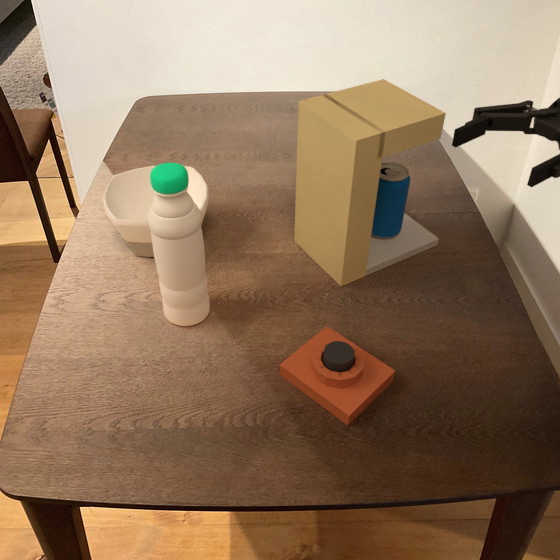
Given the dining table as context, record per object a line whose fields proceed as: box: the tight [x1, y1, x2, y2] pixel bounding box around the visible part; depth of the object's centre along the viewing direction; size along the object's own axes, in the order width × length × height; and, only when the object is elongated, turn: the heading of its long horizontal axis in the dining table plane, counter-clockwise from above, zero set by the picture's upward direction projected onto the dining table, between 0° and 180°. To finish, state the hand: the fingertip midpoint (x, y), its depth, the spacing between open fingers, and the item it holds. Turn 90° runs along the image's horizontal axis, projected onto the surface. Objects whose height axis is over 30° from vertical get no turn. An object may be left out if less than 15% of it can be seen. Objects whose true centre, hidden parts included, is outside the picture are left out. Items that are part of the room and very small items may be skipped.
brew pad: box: [279, 326, 396, 426], centre depth 78 cm, size 12×10×4 cm
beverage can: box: [371, 161, 411, 239], centre depth 98 cm, size 6×6×12 cm
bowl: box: [102, 165, 210, 258], centre depth 100 cm, size 18×18×9 cm
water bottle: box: [148, 162, 211, 327], centre depth 80 cm, size 7×7×25 cm
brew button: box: [323, 341, 354, 372], centre depth 76 cm, size 4×4×2 cm
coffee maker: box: [293, 78, 447, 287], centre depth 93 cm, size 14×21×26 cm, turn 122°
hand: (491, 157), depth 82 cm, fingers open, 13 cm apart
